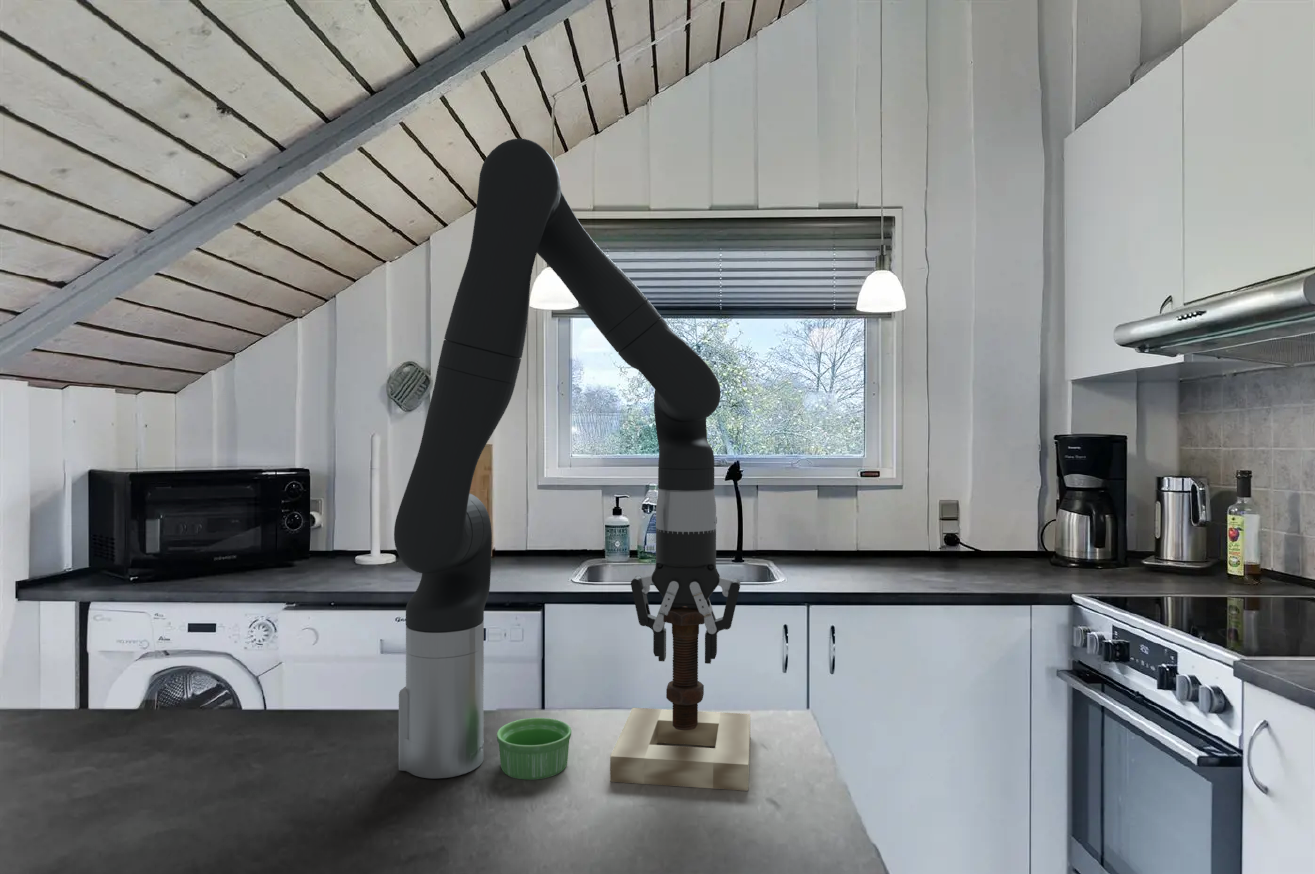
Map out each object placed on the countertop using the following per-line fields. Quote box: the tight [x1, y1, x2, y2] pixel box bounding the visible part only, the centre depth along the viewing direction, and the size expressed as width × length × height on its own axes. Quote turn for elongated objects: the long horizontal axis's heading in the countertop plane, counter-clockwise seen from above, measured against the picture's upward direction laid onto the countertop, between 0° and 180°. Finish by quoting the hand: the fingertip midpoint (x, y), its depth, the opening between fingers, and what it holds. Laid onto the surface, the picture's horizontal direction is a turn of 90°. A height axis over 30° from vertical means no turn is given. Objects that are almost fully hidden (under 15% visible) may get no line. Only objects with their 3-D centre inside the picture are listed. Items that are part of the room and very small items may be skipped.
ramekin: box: [496, 717, 572, 781], centre depth 97 cm, size 9×9×4 cm
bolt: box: [663, 606, 705, 730], centre depth 99 cm, size 6×5×15 cm
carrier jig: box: [609, 707, 751, 792], centre depth 99 cm, size 16×16×3 cm
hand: (685, 660), depth 99 cm, fingers closed on bolt, 5 cm apart
